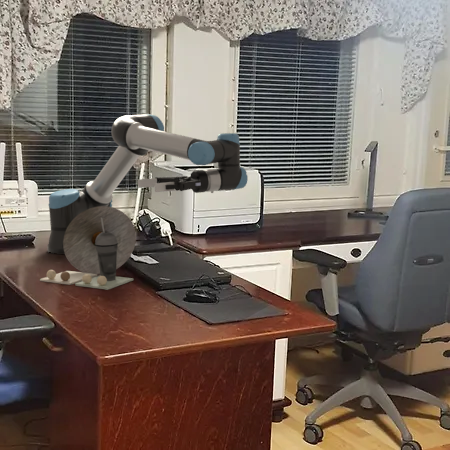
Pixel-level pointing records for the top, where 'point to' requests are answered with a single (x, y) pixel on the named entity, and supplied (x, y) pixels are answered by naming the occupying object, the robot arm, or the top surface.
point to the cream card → (72, 278)
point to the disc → (87, 233)
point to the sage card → (108, 284)
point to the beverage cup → (107, 253)
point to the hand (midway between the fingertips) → (146, 185)
